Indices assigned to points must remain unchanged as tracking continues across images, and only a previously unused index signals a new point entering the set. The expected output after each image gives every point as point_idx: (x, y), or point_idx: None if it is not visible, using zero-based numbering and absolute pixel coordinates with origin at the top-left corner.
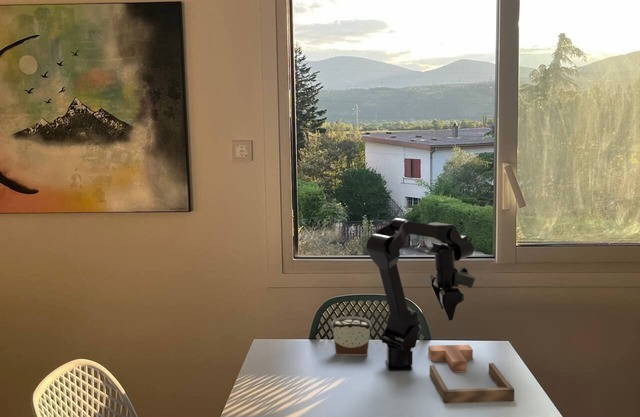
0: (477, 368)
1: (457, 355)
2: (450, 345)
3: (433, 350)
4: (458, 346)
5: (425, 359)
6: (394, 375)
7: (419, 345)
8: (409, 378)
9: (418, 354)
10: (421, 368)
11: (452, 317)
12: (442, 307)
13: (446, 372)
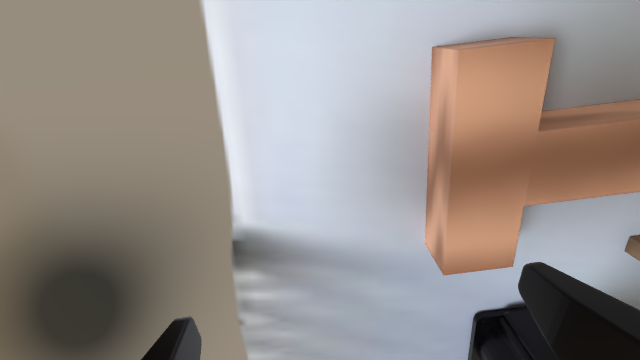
0: (634, 31)
1: (611, 151)
2: (456, 171)
3: (509, 257)
4: (481, 127)
5: None
6: None
7: (307, 270)
8: None
9: (410, 277)
10: None
11: (578, 286)
12: (195, 352)
13: None
